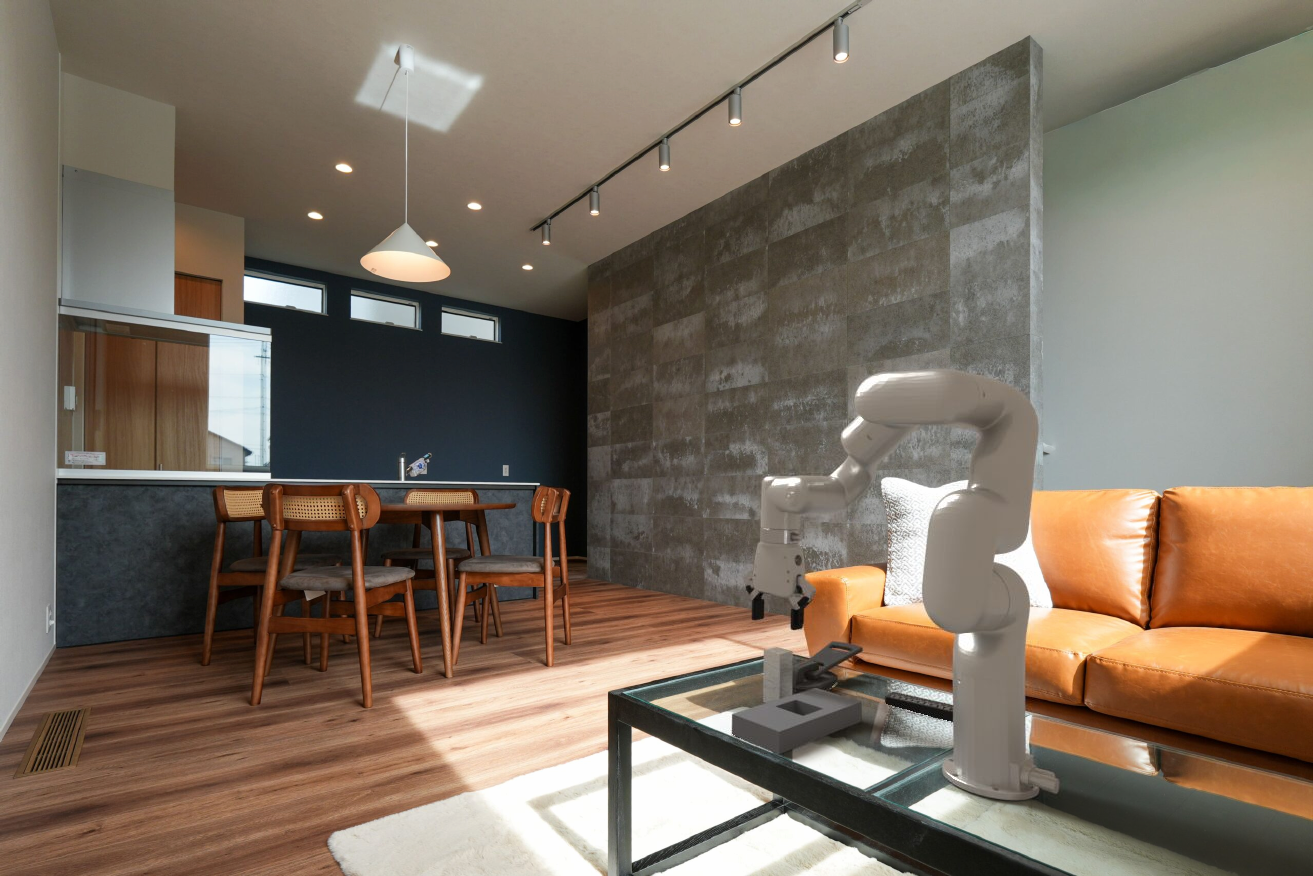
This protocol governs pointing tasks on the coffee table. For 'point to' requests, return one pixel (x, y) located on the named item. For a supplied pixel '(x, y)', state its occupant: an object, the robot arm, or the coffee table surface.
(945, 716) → the multiport hub
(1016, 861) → the coffee table surface
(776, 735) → the grey block with hole
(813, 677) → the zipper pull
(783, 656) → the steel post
